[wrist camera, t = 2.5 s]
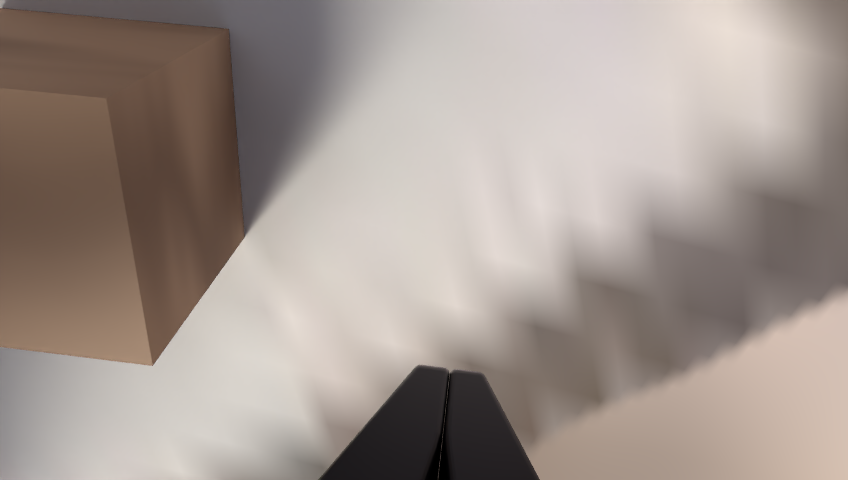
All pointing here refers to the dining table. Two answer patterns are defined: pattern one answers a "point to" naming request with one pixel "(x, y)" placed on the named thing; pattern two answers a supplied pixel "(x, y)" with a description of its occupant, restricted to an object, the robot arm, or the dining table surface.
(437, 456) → the robot arm
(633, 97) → the dining table surface
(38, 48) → the walnut block
